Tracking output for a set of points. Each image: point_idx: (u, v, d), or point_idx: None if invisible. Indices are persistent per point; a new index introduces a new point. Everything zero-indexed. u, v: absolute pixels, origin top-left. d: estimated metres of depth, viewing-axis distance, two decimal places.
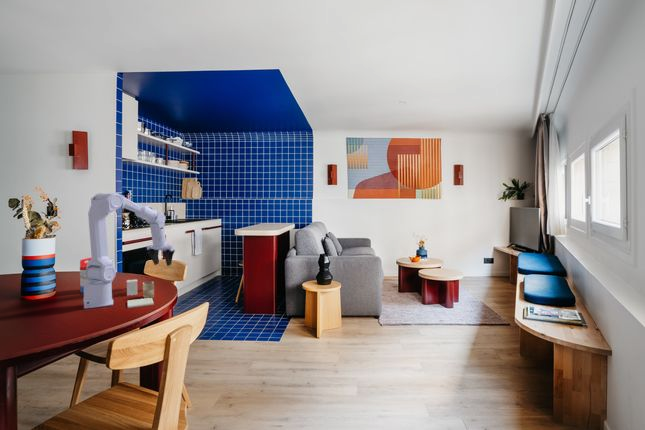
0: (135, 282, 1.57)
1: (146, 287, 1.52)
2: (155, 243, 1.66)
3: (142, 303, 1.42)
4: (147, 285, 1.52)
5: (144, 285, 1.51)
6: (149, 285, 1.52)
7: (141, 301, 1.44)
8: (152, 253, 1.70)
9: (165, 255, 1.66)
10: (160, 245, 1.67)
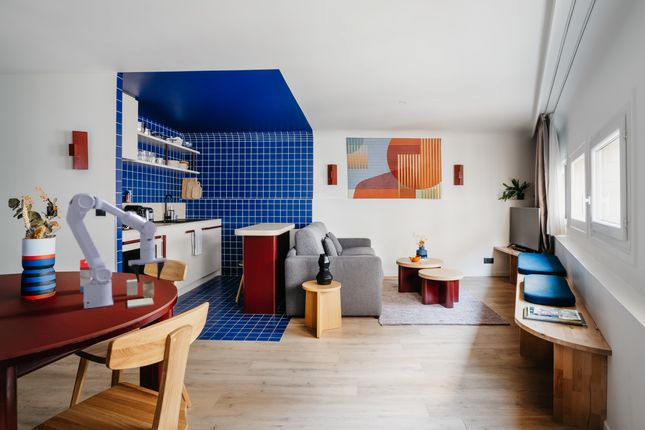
0: (135, 282, 1.57)
1: (146, 287, 1.52)
2: (149, 255, 1.51)
3: (142, 303, 1.42)
4: (147, 285, 1.52)
5: (144, 285, 1.51)
6: (149, 285, 1.52)
7: (141, 301, 1.44)
8: (138, 268, 1.50)
9: (160, 268, 1.54)
10: (153, 257, 1.53)
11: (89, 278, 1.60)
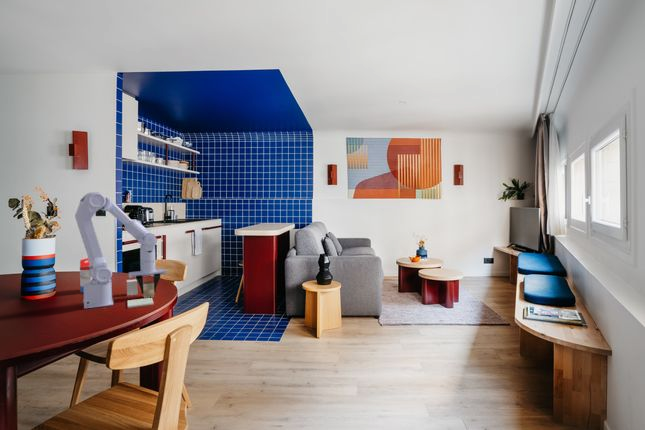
0: (135, 282, 1.57)
1: (146, 287, 1.52)
2: (149, 267, 1.51)
3: (142, 303, 1.42)
4: (147, 285, 1.52)
5: (144, 285, 1.51)
6: (149, 285, 1.52)
7: (141, 301, 1.44)
8: (142, 280, 1.51)
9: (156, 280, 1.53)
10: (154, 269, 1.53)
11: (89, 278, 1.60)
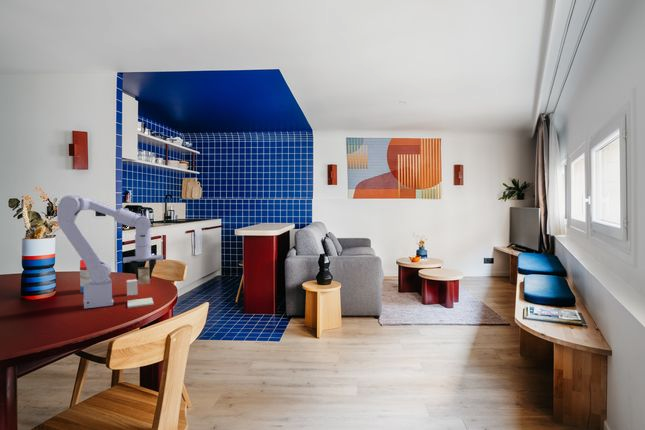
0: (135, 282, 1.57)
1: (141, 273, 1.46)
2: (144, 252, 1.46)
3: (142, 303, 1.42)
4: (142, 271, 1.46)
5: (139, 271, 1.46)
6: (144, 271, 1.47)
7: (141, 301, 1.44)
8: (137, 265, 1.46)
9: (152, 265, 1.48)
10: (149, 254, 1.47)
11: (89, 278, 1.60)
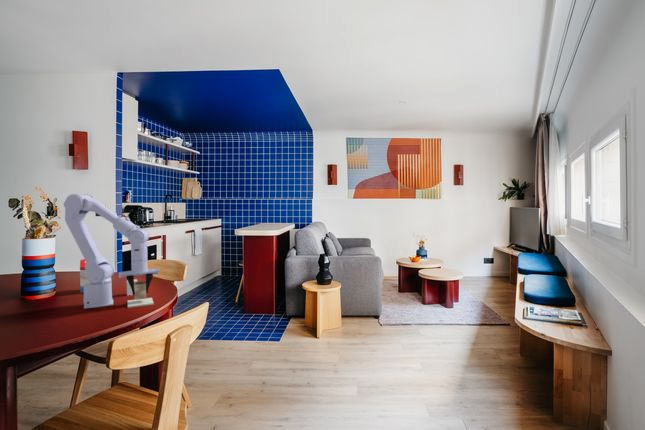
0: (135, 282, 1.57)
1: (137, 288, 1.42)
2: (140, 266, 1.41)
3: (142, 303, 1.42)
4: (138, 286, 1.42)
5: (135, 286, 1.41)
6: (141, 286, 1.42)
7: (141, 301, 1.44)
8: (133, 280, 1.41)
9: (148, 280, 1.43)
10: (145, 268, 1.43)
11: None
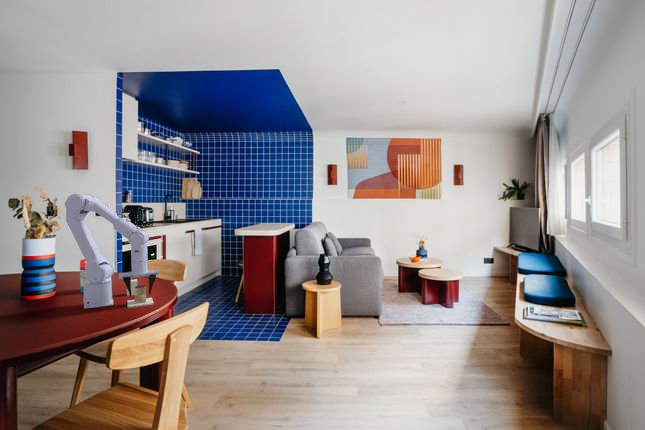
0: (135, 282, 1.57)
1: (137, 291, 1.42)
2: (140, 267, 1.41)
3: (142, 303, 1.42)
4: (138, 289, 1.42)
5: (135, 289, 1.41)
6: (141, 289, 1.42)
7: None
8: (130, 282, 1.41)
9: (152, 281, 1.44)
10: (145, 270, 1.43)
11: None
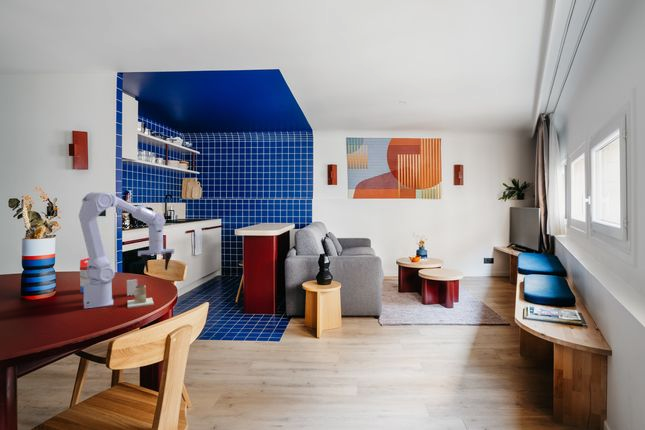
0: (135, 282, 1.57)
1: (137, 291, 1.42)
2: (157, 246, 1.59)
3: (142, 303, 1.42)
4: (138, 289, 1.42)
5: (135, 289, 1.41)
6: (141, 289, 1.42)
7: None
8: (147, 258, 1.58)
9: (168, 258, 1.62)
10: (161, 248, 1.61)
11: (89, 278, 1.60)
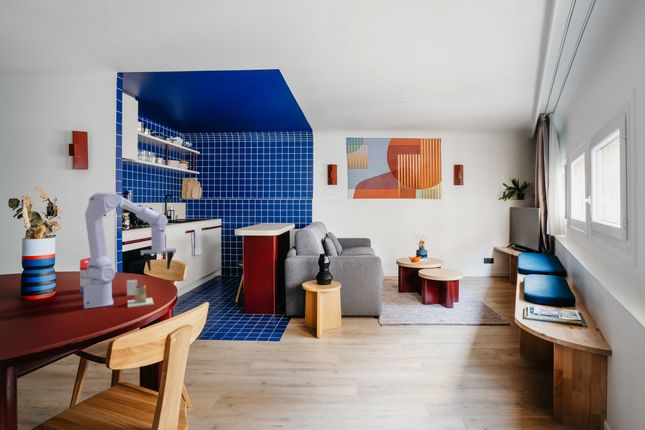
0: (135, 282, 1.57)
1: (137, 291, 1.42)
2: (159, 245, 1.62)
3: (142, 303, 1.42)
4: (138, 289, 1.42)
5: (135, 289, 1.41)
6: (141, 289, 1.42)
7: None
8: None
9: (170, 257, 1.65)
10: (164, 247, 1.64)
11: None
